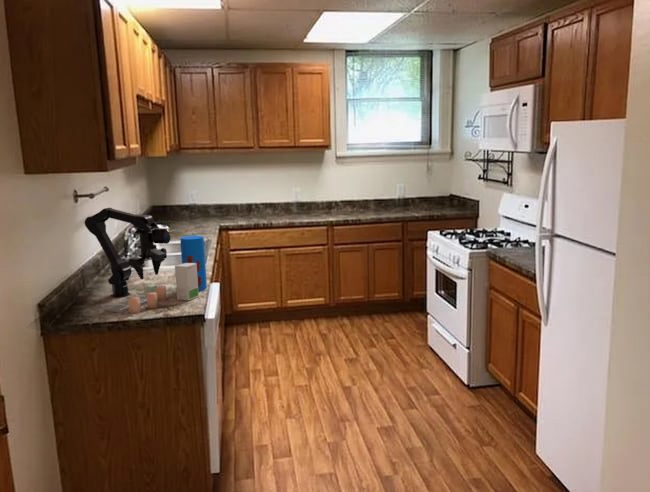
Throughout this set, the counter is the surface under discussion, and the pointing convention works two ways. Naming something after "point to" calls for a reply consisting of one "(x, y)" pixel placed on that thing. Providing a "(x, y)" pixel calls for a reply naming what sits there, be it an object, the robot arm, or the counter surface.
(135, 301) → the peach colored egg
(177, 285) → the skincare box
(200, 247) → the thermos
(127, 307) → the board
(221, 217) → the counter surface
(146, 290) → the pale green block
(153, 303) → the salmon pink egg
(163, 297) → the glossy pink ovoid
